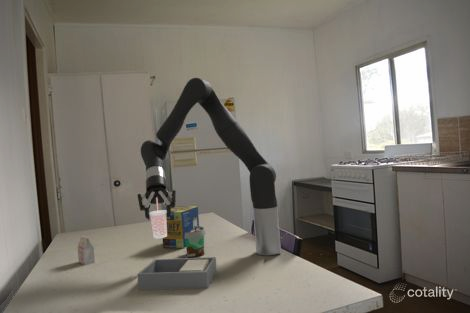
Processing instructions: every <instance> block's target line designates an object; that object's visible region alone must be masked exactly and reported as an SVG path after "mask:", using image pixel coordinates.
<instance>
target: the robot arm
mask: <svg viewBox="0 0 470 313" xmlns="http://www.w3.org/2000/svg"><path fill="white" fill-rule="evenodd" d="M196 104H199V105H200V107H202V108H203V110H204V111H205V112H206V113H207V115H208V117H209V118H210V120H211V121H210V122H211V123H212V126H213V129H214V131H215V132H216V134H217V136H218V137H219V139H220V140H221V142H223V143H224V145H225V146H226V147H227V149H229V150H230V151H231V153H232V154H234V155H235V156H236V157H237V158H238V159H239V160H240V161H241V162H242V163H243V164H244V166H245V167H246V168H247V170H248V172H249V190H250V199H251V202H252V212H253V227H254V240H255V254H258V255H260V256H274V255H279V254H282V252H281V250H282V249H281V235H280V234H281V233H280V223H279V213H278V199H277V197H276V196H277V195H276V186H275V182H276V179H277V173H276V170H275V169H274V167H273V166H272V165H271V164H270V163H269V162H268V161H267V160H266V159H265V158H264V157H263V155H261V153H260V152H259V151H258V150H257V148H256V146H255V145H254V144H253V142H252V139H250V137H249V136H248V134H247V133H246V131H245V130H244V128H243V127H242V125H241V124H240V123H239V122H238V121H237V119H236V118H235V117H234V116H233V114H232V113H231V112H230V111H229V110H228V109H227V108H226V106H225V104H223V103H222V101H221V99H220V97H219V96H218V94H217V93H216V91H215V89H214V88H213V86H212V85H211V83H210V82H209V81H208V80H206V79H203V78H199V77H192V78H191V79H189V80H188V81H187V82H186V84H185V86H184V88H183V89H182V92H181V94H180V95H179V98H178V100H177V101H176V103H175V105H174V107H173V108H172V110H171V112H170V113H169V115H168V117H167V118H166V119H165V121H164V122H163V123H162V125H161V126H160V127H159V129H158V130H157V132H156V138H157V139H158V140H159V141H160V142H161V144H159V143H157V142H155V141H153V140H150V139H149V140H148V139H147V140H145V141H144V142H143V143H142V144H141V147H140V155H141V156H140V157H141V159H142V161H143V164H144V165H145V190H146V191H145V193H144V194H141V193H138V194H137V201H138V206H139V211H144V216H145V219H147V220H151V217H150V215H149V213H150V210H151V208H152V206H153V205H157V203H156V197H157V199H158V204H163V206H164V207H165V208H166V210H167V217H169V216H170V215H171V209H172V208H175V207H176V201H177V200H176V198H177V196H176V195H177V194H176V192H177V191H176V190H175V189H173V190H172V191H168V188H167V187H168V186H167V178H166V173H165V164H164V160H165V159H166V156H167V154H168V152H169V149H170V147H171V144H172V142H173V140H174V139H176V137H177V136H178V134H179V132H181V129H182V128H183V125H184V124H185V120H186V119H187V118H186V117H187V116H188V115H189V112H191V110H192V108H193V107H194V106H196ZM168 196H169V198H171V201H170V200H168ZM145 199H146V200H147V201H146V203H145V205H144V203H143V202H144V201H145Z"/></svg>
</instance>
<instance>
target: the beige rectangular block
mask: <svg viewBox="0 0 470 313" xmlns="http://www.w3.org/2000/svg"><path fill="white" fill-rule="evenodd" d="M208 265H209V261H208V259H205V260H188V261H187V262H186V263H185V264H184V266H183V267H182V268H181V269H180V270H179V272H194V271H205V270H206V268H207V266H208Z"/></svg>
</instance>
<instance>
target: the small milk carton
mask: <svg viewBox="0 0 470 313" xmlns="http://www.w3.org/2000/svg"><path fill="white" fill-rule="evenodd" d="M77 254H78V255H77V256H78V257H77V258H78V262H79V263H80V264H82V265H84V266H87V265H92V264H95V263H96V260H95V247H94V245H92V242H91V241H90V239H89V238H88V237H87V236H84V235H81V236H80V240H79V242H78V245H77Z"/></svg>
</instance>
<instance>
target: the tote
mask: <svg viewBox="0 0 470 313" xmlns="http://www.w3.org/2000/svg"><path fill="white" fill-rule="evenodd" d="M205 259H208V261H209V265H208V266H207V268H206V270H205V271H194V272H179V270H180V269H181V268H182V267H183V266H184V264H185V263H186V262H187V261H188V260H205ZM217 272H218V270H217V258H216V256H213V257H212V256H211V257H209V256H207V257H197V258H187V257H184V258H183V257H182V258H181V257H179V258H156V259H155V258H154V259H152V261H150V263H148V264H147V265H146V266H145V267H143V269H142V270H140V271H139V272H138V273H136V274H137V275H136V276H137V288H138V291H139V290H177V289H178V290H179V289H181V290H182V289H184V290H185V289H187V290H189V289H209V287H210V285H211V283H212V281H213V279H214V277H215V275H216V273H217Z"/></svg>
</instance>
